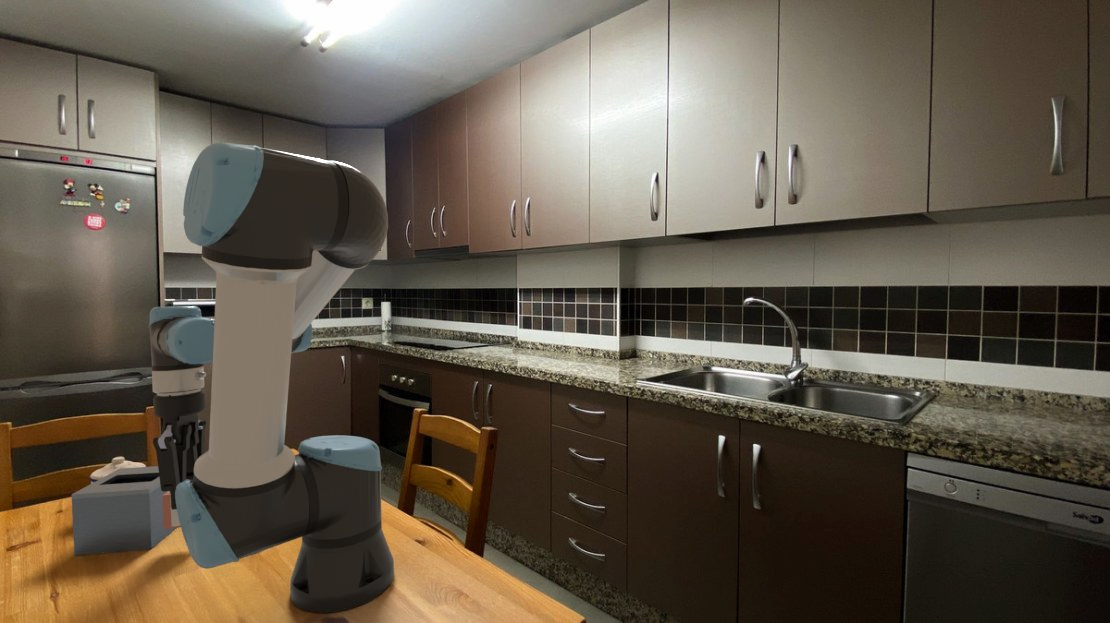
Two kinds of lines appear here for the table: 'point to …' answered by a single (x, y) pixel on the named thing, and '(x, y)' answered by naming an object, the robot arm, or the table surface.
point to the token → (167, 511)
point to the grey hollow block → (119, 513)
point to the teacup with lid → (113, 468)
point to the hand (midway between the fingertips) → (185, 521)
